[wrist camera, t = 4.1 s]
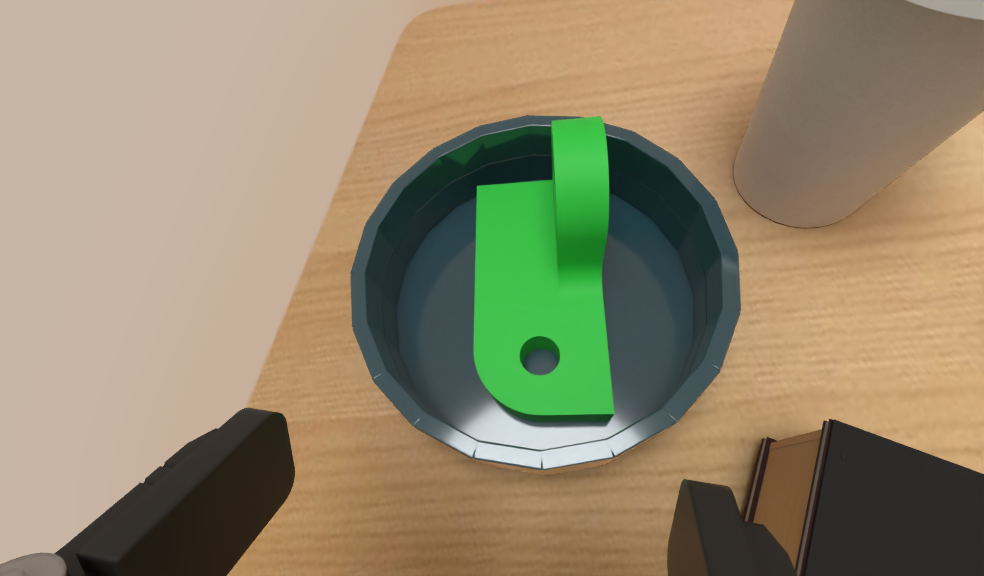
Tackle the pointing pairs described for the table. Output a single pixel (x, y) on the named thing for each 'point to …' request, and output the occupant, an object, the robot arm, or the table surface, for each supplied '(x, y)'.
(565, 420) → the mechanical part
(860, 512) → the miniature tv stand
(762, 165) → the coffee cup
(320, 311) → the table surface
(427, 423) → the pot
